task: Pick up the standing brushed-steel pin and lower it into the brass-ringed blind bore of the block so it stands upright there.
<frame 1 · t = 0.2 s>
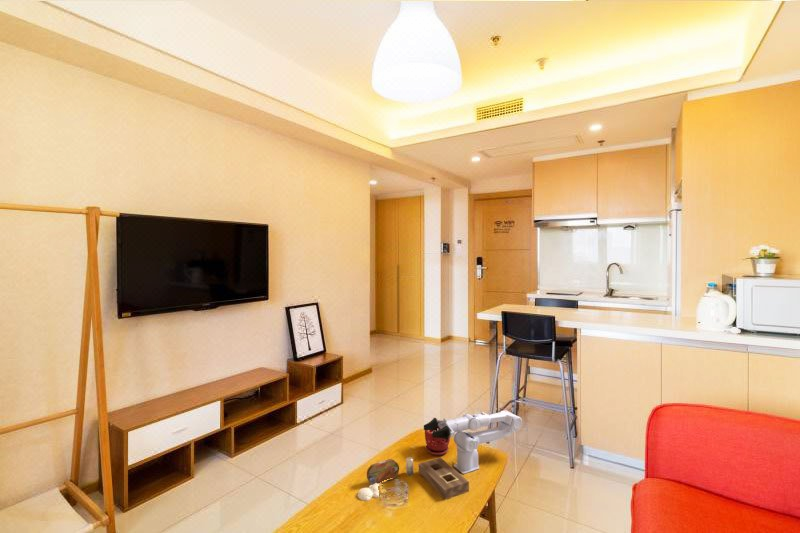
hand: (428, 431, 165), 22 cm above the table, tool horizontal, fingers open, 7 cm apart
tin: (383, 481, 165), on the table
bore block: (442, 481, 164), on the table
plant pot: (437, 451, 190), on the table
pin: (409, 473, 170), on the table
astronaut figurine: (372, 494, 157), on the table
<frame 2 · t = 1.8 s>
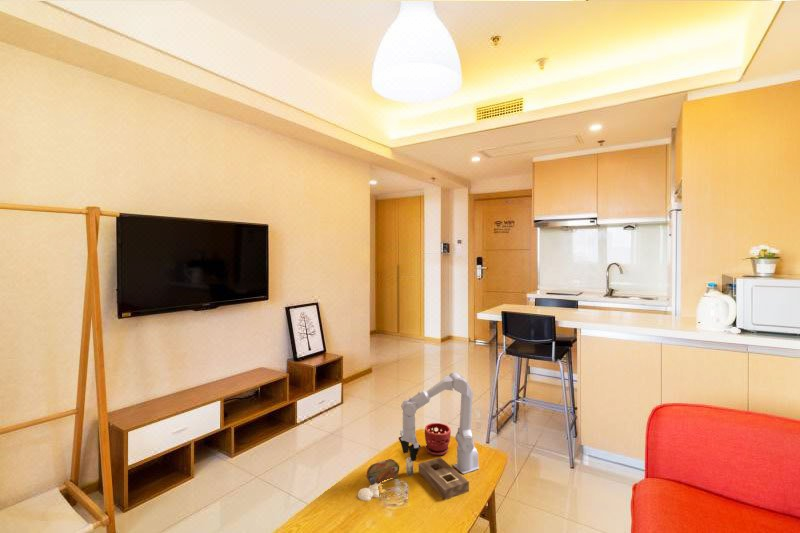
hand: (409, 456, 170), 8 cm above the table, tool pointing down, fingers open, 7 cm apart
nothing on the table moved.
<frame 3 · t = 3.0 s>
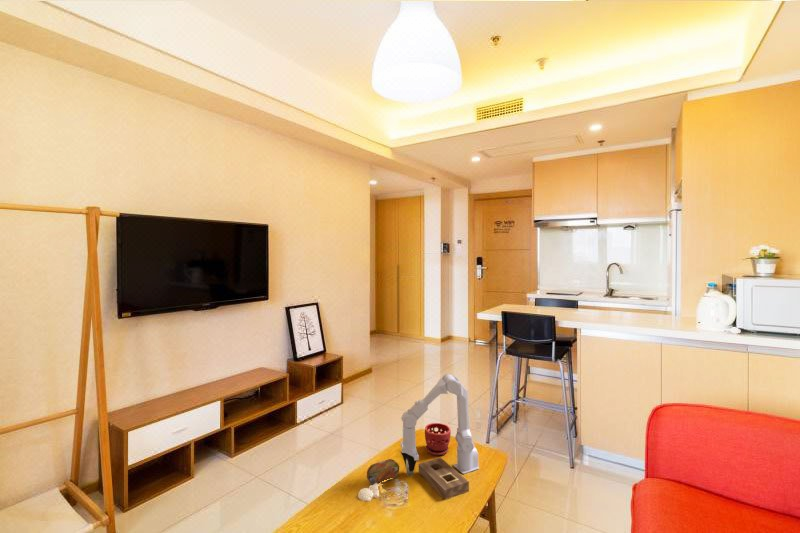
hand: (409, 468, 170), 2 cm above the table, tool pointing down, fingers closed on pin, 3 cm apart
pin: (409, 473, 170), on the table, touching gripper
everything else where it was.
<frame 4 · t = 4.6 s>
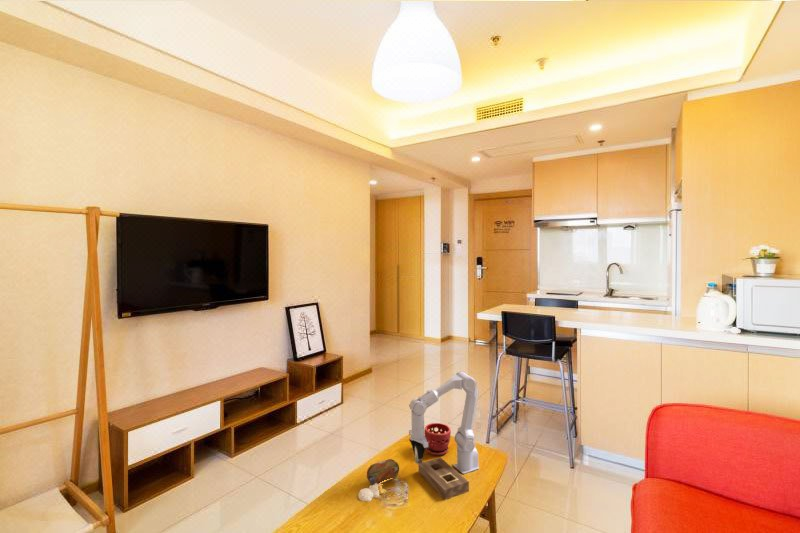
hand: (418, 456, 167), 9 cm above the table, tool pointing down, fingers closed on pin, 3 cm apart
pin: (418, 461, 167), point 7 cm above the table, touching gripper
everything else where it was.
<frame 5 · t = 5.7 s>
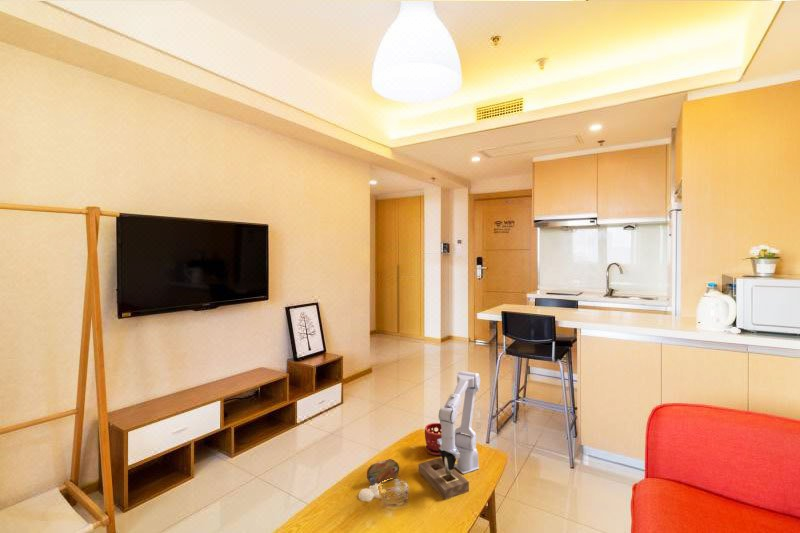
hand: (448, 467, 159), 9 cm above the table, tool pointing down, fingers closed on pin, 3 cm apart
pin: (448, 472, 159), point 6 cm above the table, touching gripper
everything else where it was.
when the fingers open (5 cm above the table, at t = 6.7 s): pin drops 2 cm, resting on bore block.
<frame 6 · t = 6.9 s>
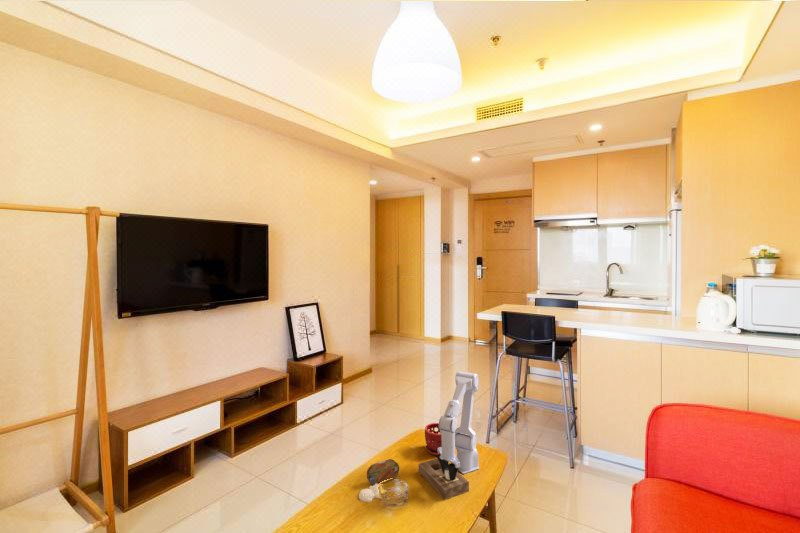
hand: (448, 476, 159), 5 cm above the table, tool pointing down, fingers open, 5 cm apart
pin: (448, 486, 159), point 1 cm above the table, touching bore block
everything else where it was.
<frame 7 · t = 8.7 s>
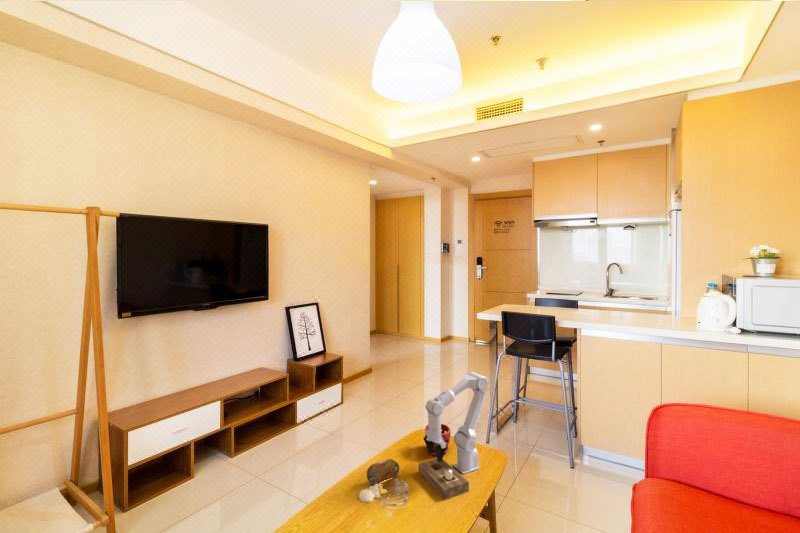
hand: (435, 457, 166), 9 cm above the table, tool pointing down, fingers open, 7 cm apart
nothing on the table moved.
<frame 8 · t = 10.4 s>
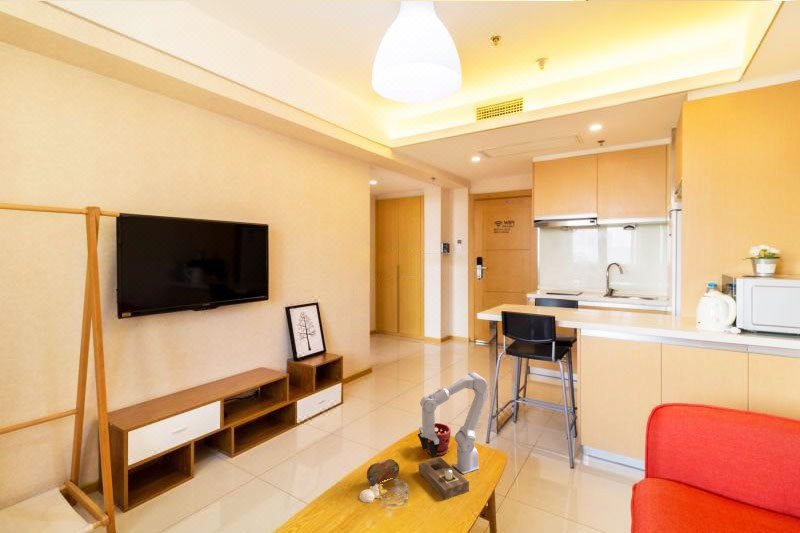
hand: (429, 453, 170), 9 cm above the table, tool pointing down, fingers open, 7 cm apart
at the end: pin 0.1 cm from the target spot on the bore block, point 0.5 cm above the bore block's base; pin tilted 0°; the gripper is holding nothing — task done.
